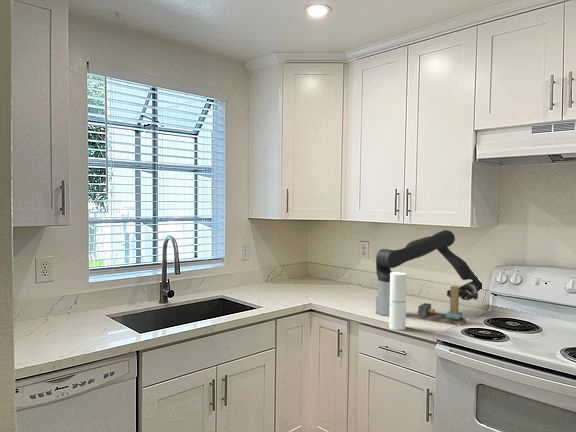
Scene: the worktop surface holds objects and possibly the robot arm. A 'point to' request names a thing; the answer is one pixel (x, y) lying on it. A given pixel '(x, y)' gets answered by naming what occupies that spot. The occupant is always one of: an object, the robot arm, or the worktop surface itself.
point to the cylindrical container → (397, 301)
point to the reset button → (431, 311)
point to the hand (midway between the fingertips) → (458, 296)
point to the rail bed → (436, 316)
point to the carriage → (454, 303)
